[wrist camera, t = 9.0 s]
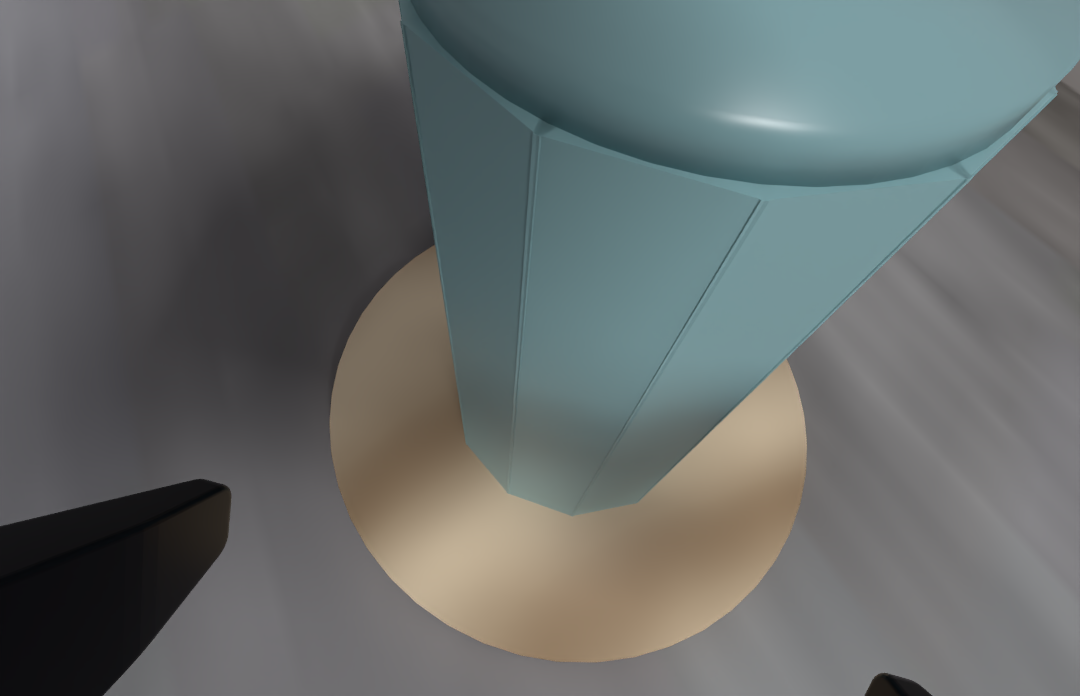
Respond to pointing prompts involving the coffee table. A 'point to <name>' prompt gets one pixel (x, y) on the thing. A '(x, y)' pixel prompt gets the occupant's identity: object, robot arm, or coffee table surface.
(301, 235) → the coffee table surface
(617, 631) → the oak plate
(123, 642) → the robot arm
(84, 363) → the coffee table surface
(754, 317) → the teal domed canister
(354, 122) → the coffee table surface
